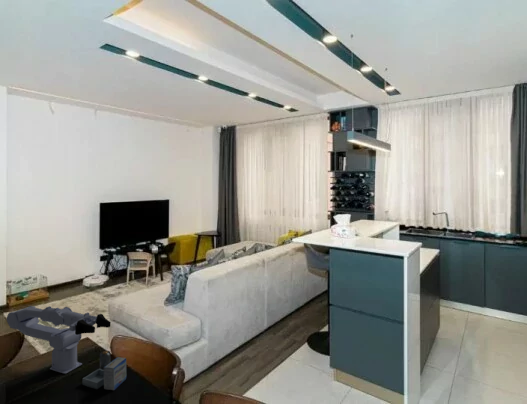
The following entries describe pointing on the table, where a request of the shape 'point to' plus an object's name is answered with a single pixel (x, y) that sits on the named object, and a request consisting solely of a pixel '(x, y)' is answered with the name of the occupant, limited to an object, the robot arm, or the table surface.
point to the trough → (94, 379)
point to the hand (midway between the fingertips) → (102, 327)
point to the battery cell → (104, 359)
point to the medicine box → (114, 373)
